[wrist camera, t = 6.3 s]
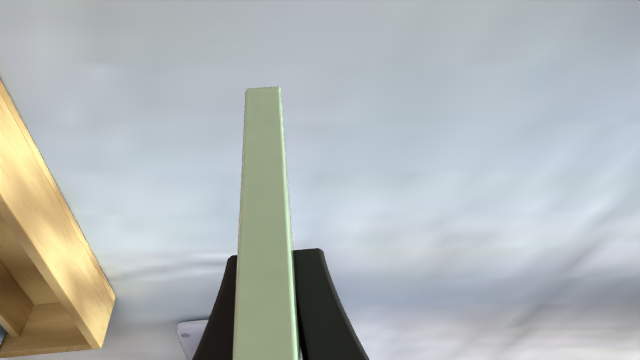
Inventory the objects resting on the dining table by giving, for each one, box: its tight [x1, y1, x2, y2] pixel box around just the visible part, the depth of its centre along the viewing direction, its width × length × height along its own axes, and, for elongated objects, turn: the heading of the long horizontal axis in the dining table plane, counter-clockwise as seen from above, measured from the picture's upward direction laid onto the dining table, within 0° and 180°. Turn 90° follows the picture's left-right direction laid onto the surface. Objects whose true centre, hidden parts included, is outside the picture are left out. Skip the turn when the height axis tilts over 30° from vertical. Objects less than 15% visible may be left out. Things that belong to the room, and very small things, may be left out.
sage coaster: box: [232, 87, 302, 360], centre depth 10 cm, size 8×1×8 cm, turn 1°
